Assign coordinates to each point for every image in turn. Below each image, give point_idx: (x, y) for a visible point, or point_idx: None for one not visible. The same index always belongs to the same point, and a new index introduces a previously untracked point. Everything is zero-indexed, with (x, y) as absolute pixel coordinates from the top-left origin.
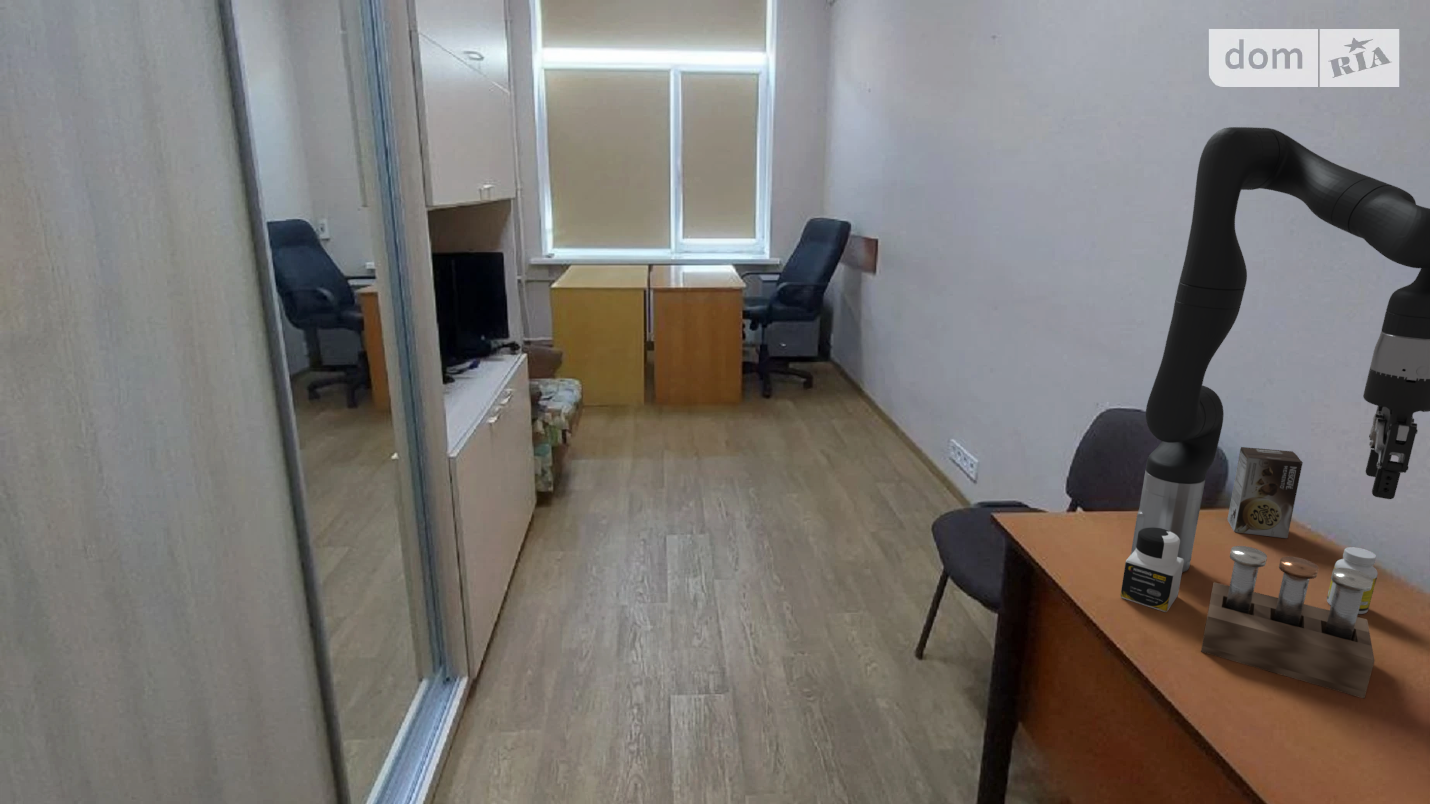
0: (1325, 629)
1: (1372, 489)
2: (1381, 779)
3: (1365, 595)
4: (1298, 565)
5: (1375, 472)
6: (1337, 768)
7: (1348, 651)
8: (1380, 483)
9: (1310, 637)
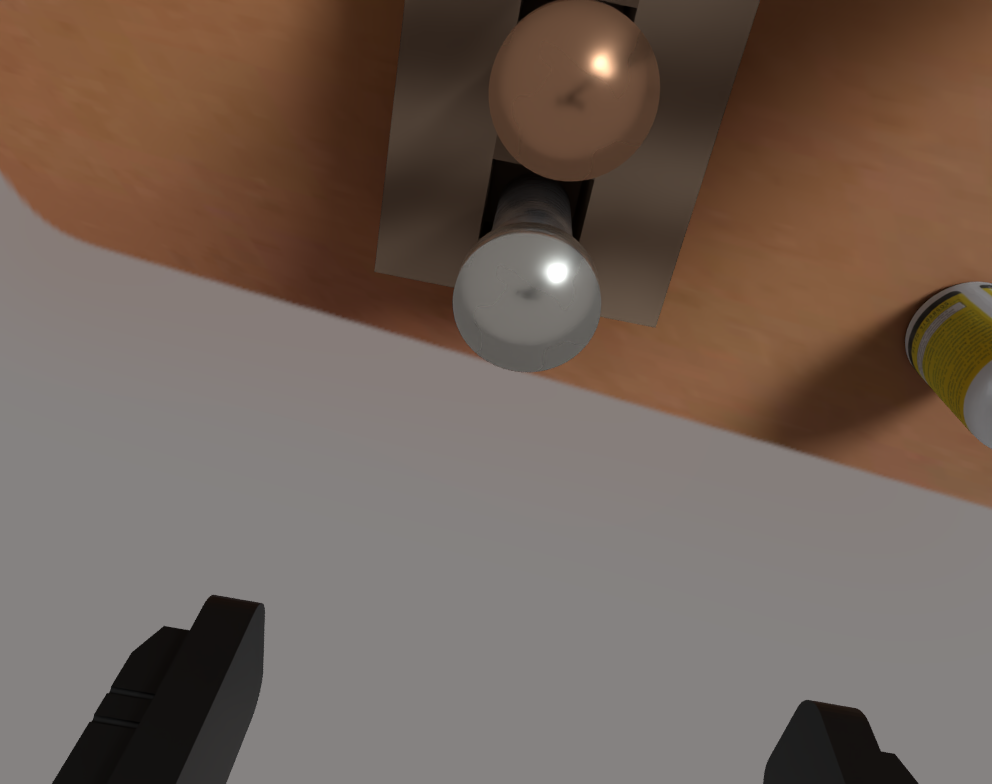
0: (535, 179)
1: (236, 627)
2: (42, 166)
3: (934, 385)
4: (549, 86)
5: (800, 769)
6: (16, 72)
7: (395, 211)
8: (92, 723)
9: (439, 110)
